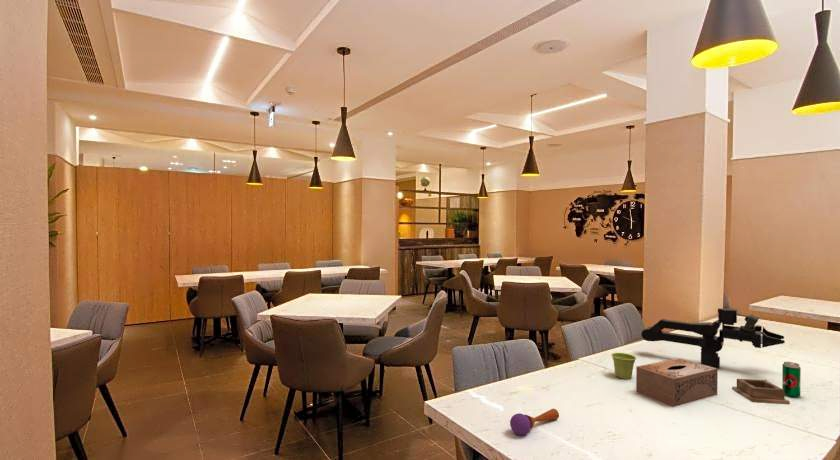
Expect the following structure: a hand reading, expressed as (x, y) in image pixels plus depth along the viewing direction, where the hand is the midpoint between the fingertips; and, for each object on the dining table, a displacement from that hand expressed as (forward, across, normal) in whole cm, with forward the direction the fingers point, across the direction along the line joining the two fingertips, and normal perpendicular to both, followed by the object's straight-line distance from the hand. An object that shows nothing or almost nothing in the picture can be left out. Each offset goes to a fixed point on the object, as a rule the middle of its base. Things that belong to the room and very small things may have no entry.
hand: (784, 339), depth 171 cm
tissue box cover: (-31, -46, +17) cm, 58 cm away
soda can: (+2, -20, +17) cm, 26 cm away
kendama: (-60, -106, +17) cm, 123 cm away
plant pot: (-51, -40, +17) cm, 67 cm away
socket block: (-7, -29, +17) cm, 34 cm away
